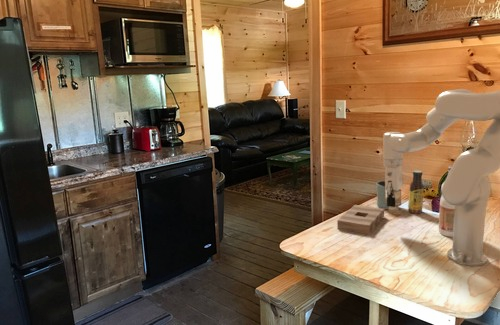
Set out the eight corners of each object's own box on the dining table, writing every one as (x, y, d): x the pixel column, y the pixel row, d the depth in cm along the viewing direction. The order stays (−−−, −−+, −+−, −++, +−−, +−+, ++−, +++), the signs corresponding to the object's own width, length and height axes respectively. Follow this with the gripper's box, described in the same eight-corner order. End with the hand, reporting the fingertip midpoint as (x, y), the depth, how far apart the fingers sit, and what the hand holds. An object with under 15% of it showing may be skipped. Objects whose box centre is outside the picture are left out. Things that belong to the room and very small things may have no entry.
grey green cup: (379, 201, 206) (379, 179, 203) (399, 204, 200) (400, 181, 197) (373, 207, 198) (373, 184, 195) (394, 211, 192) (394, 187, 189)
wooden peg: (399, 215, 163) (399, 192, 161) (383, 213, 167) (383, 191, 165) (403, 210, 168) (403, 188, 166) (388, 208, 172) (387, 187, 170)
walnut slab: (368, 234, 168) (369, 225, 167) (337, 228, 176) (337, 220, 175) (384, 217, 185) (384, 208, 184) (354, 212, 193) (354, 204, 192)
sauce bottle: (413, 214, 186) (415, 173, 181) (405, 210, 192) (406, 170, 187) (425, 212, 187) (427, 172, 183) (416, 208, 193) (418, 169, 189)
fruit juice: (433, 230, 167) (436, 166, 161) (451, 227, 170) (455, 163, 164) (450, 239, 159) (454, 171, 152) (469, 235, 161) (474, 168, 155)
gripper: (397, 167, 154) (397, 211, 158) (407, 158, 168) (407, 199, 172) (377, 166, 158) (378, 209, 162) (389, 157, 172) (390, 197, 176)
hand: (393, 203), depth 167 cm, fingers closed on wooden peg, 6 cm apart
